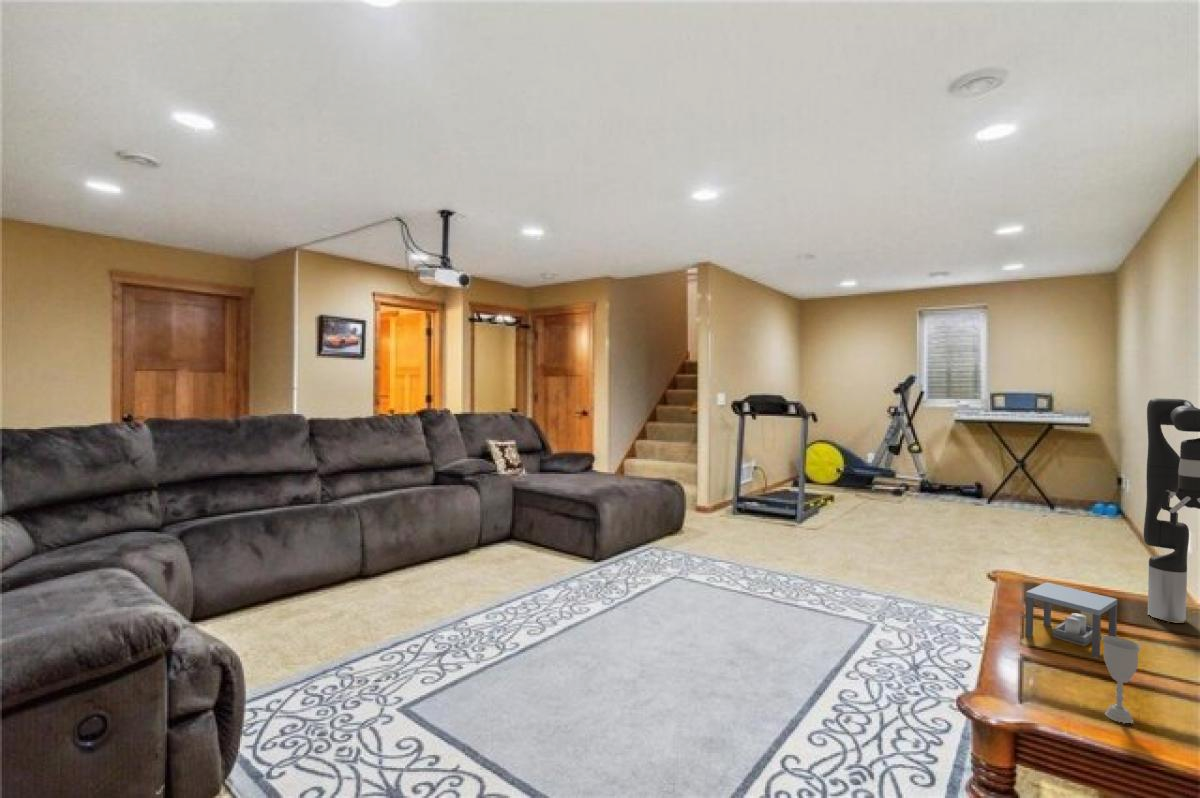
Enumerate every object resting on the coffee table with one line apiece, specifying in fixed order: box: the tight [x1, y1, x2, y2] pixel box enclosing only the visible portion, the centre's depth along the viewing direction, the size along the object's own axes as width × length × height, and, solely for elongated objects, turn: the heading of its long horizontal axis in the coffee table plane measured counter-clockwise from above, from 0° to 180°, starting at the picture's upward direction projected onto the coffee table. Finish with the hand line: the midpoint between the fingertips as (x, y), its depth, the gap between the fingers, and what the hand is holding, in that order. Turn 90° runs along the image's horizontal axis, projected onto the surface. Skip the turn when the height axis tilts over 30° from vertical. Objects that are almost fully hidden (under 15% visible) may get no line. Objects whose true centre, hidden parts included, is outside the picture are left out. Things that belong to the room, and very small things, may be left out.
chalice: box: [1101, 635, 1142, 725], centre depth 135 cm, size 7×7×18 cm
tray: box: [1052, 611, 1093, 647], centre depth 181 cm, size 18×8×7 cm, turn 124°
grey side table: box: [1024, 581, 1118, 659], centre depth 177 cm, size 16×18×14 cm
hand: (1194, 527), depth 173 cm, fingers open, 8 cm apart
